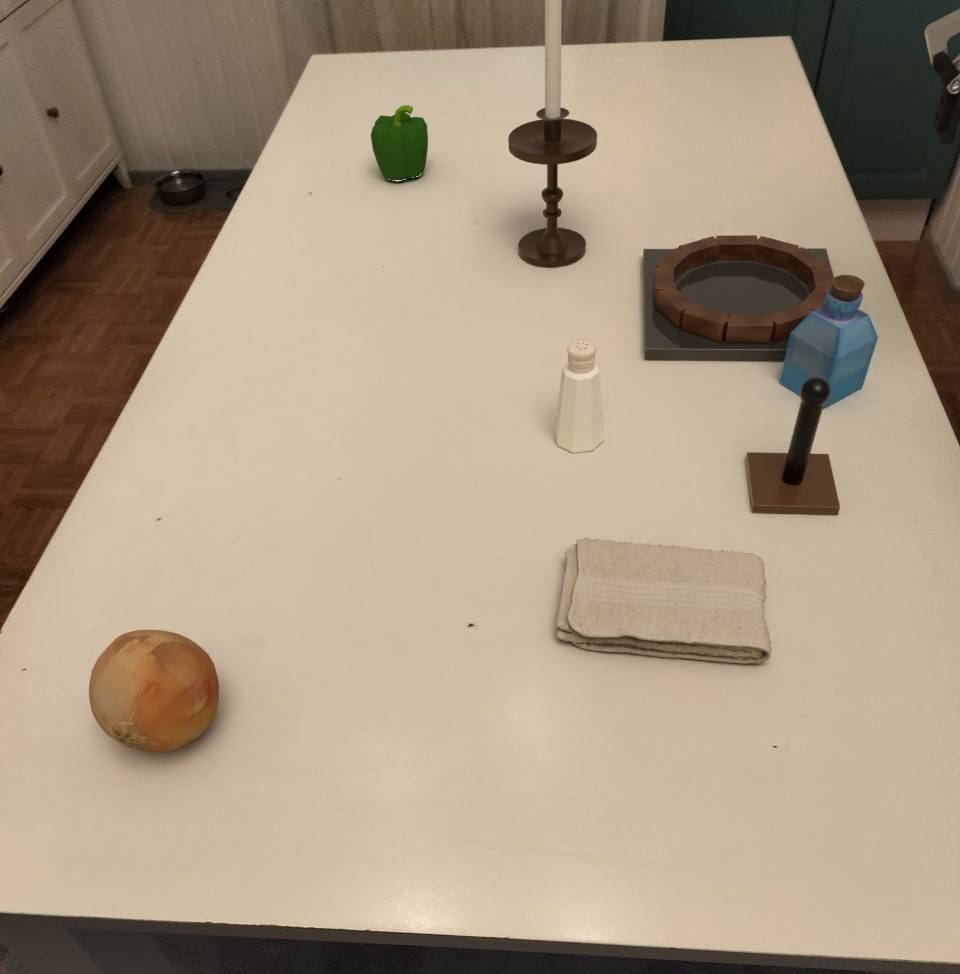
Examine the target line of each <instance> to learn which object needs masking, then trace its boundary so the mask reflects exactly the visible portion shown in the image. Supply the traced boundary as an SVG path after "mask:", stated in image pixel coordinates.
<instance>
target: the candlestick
mask: <svg viewBox="0 0 960 974" xmlns="http://www.w3.org/2000/svg"><path fill="white" fill-rule="evenodd" d="M562 9H563V0H544V108H543V107H542V108H540V109H538V111H536V113H535V116H536V117H537V118H539V119H537V120H532V121H529V122H525V123H522V124H521V125H519V126H517V127H515V128H514V129H512V131H510V133H509V135H508V137H507V138H508V139H507V141H508V142H507V143H508V152H509V153H510V154H511V155H512V156H513V157H514V158H516V159H518V160H520V161H521V162H522V161H523V162H525V163H530V164H534V165H546V187H545V188H544V189H542V191H541V198H542V200H543V202H544V203H545V204H546V206H545V207H546V208H544V209H543V210H542V216H543V217H544V218H546V227H544V228H538V229H535V230H532V231H530V232H527V233H526V234H524V235H523V236H522V237H520V239H519V241H518V244H517V249H518V250H517V251H518V256H519V257H520V259H521V260H522V261H524V262H525V263H526V264H529V265H531V266H534V267H540V268H561V267H567V266H569V265H572V264H574V263H577V262H578V261H580V260H582V258H583V257H584V256H585V255H586V251H587V241H586V239H585V237H584V235H582V234H581V233H579V232H577V231H575V230H573V229H570V228H565V227H558V219H559V218H560V217H561V216H562V214H563V213H562V212H563V211H562V209H561V208H559V203H560V202H561V201H562V199H563V196H564V190H563V189H562V188H561V187H559V185H558V183H559V181H558V180H559V165H562V164H569V163H573V162H577V161H580V160H582V159H584V158H587V157H588V156H590V155H591V154H592V153H594V152H595V150H596V149H597V145H598V132H597V131H596V129H595V128H594V127H593V126H591V125H590V124H588V123H587V122H584V121H580V120H577V119H570V118H567V117H568V116H569V115H570V111H569V110H568V109H567V108H564V107H562V106H561V105H562V104H561V102H562V99H561V98H562V91H561V90H562V25H563V24H562V16H563V15H562V14H563V13H562V11H563V10H562Z"/></svg>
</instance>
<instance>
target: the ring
mask: <svg viewBox="0 0 960 974" xmlns="http://www.w3.org/2000/svg"><path fill="white" fill-rule="evenodd" d="M805 248H806V247H803V246H801V247H799V244H794V243H790V242H787V241H782V240H779V239H774V238H771V237H767V236H764V235H760V236H759V238H758V235H757V234H756V235H755V234H754V235H753V234H751V235H749V234H748V235H747V234H746V235H741V234H740V235H738V234H737V235H733V234H732V235H716V237H715V236H713V235H712V236H708V237H706V238H701V239H698V240H694V241H691V242H688V243H684V244H681V245H678V247H674V248H673V249H674V250H672V251H671V252H670V253H669V254H668V255H667V256H666V257H665V258H664V259H662V260H661V261H660V262H659V263H658V264H657V265H656V267H655V273H654V283H653V284H654V305H656V308H657V309H658V310H659V311H660V312H661V313H662V314H663V315H665V316H666V317H667V318H668V319H669V320H670V321H671V322H672V323H674V324H675V325H676V326H677V327H681V326H682V327H681V329H682V330H685V331H688V332H691V333H695V334H698V335H701V336H704V337H707V338H711V339H714V340H717V341H721V340H722V339H723V338H725V342H760V343H770V340H771V339H772V340H773V341H774V342H776V341H779V340H782V339H785V338H788V337H790V334H791V332H792V331H793V330H794V329H795V328H796V327H797V326H798V325H799V324H800V323H801V322H802V321H803V320H804V319H805V318H806V317H807V316H808V315H809V314H810V313H811V312H812V311H814V310H817V309H819V308H821V307H823V306H825V305H826V304H825V300H826V296H827V292H828V290H829V289H830V288H832V280H833V276H832V273H831V269H830V267H828V264H826V263H825V262H823V261H822V260H821V259H819V258H818V257H816V256H815V255H813V254H812V253H810V252H809V251H807V250H806V249H805ZM715 261H757V262H760V263H764V264H768V265H772V266H775V267H779V268H783V269H786V270H787V271H789V272H790V273H791V274H793V275H794V276H796V277H797V278H798V279H800V280H801V281H803V282H804V283H805V284H807V285H808V289H809V293H810V295H809V296H808V297H807V298H806V299H805V301H804V302H803V303H802V304H801V305H798V306H795V307H792V308H789V309H786V310H783V311H780V312H776V313H773V314H770V315H729V314H726V313H722V312H719V311H716V310H712V309H709V308H706V307H702V306H699V305H695V304H694V303H692V302H691V301H690V300H689V299H688V298H686V297H685V296H684V295H683V294H682V293H681V292H679V291H678V290H677V289H676V288H675V286H674V282H675V281H676V280H677V279H678V278H679V277H681V276H682V275H683V274H684V273H685V272H686V271H687V270H688V269H691V268H695V267H698V266H701V265H705V264H708V263H711V262H715Z"/></svg>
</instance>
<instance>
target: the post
mask: <svg viewBox="0 0 960 974" xmlns="http://www.w3.org/2000/svg"><path fill="white" fill-rule="evenodd" d="M830 394H831V388H830V385H829V383H828V382H827V381H826V380H825V379H823V378H820V377H813V378H810V379H808V380H807V381H806V382H805V383H804V384H803V385H802V387H801V389H800V396H799V398H800V404H799V407H798V412H797V415H796V419H795V422H794V427H793V430H792V435H791V439H790V442H789V447H788V450H787V452H760V451H759V452H756V451H755V452H754V451H753V452H752V451H747V452H746V455H745V465H746V466H745V467H746V475H747V482H748V483H747V484H748V490H749V498H750V499H749V500H750V506H751V513H753V514H755V513H756V514H782V515H783V514H785V515H786V514H787V515H819V516H821V515H822V516H825V515H826V516H838V515H839V513H840V509H841V505H840V501H839V496H838V492H837V487H836V482H835V478H834V473H833V467H832V464H831V459H830V455H829V453H812V449H813V446H814V441H815V438H816V435H817V431H818V427H819V423H820V419H821V416H822V414H823V413H822V412H823V410H824V409H823V406H824V403H826V402H827V400H828V399H829V397H830Z"/></svg>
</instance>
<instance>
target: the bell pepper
mask: <svg viewBox="0 0 960 974" xmlns="http://www.w3.org/2000/svg"><path fill="white" fill-rule="evenodd" d="M413 111H414V107H413V106H411V105H408V104H407V105H406V104H405V105H401V106H399V107H398V108H397V109H396V110H395V112H394V114H393V115H390V116H389V115H379V116H378V117H377V119H376V120H375V121H374V125H373V126H372V128H371V133H370V140H371V146H372V152H373V155H374V157H375V160H376V163H377V166H378V168H379V171H380V174H381V175H382V176H383V177H384V178H385V177H386V178H387V179H390V180H403V179H406V178H412V177H416V176H419V175H420V174H421V173H422V174H423V173H424V172H425V170H426V164H427V159H428V158H427V157H428V150H429V149H428V148H429V132H428V125H427V123H426V121H425V118H424V117H421V116H411V115H412V114H413V113H412V112H413ZM386 178H385V179H386ZM387 179H386V180H387ZM406 180H407V179H406Z"/></svg>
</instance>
